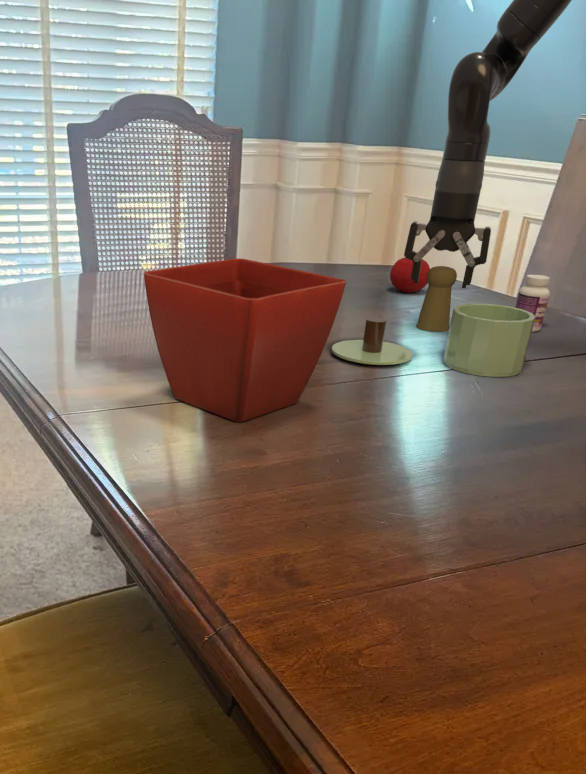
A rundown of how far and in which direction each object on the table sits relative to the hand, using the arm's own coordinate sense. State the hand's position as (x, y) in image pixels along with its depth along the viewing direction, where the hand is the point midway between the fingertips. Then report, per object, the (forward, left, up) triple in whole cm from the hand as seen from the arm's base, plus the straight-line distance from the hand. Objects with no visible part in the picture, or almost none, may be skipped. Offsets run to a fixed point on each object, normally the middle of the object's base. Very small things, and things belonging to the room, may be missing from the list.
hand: (439, 285), depth 142 cm
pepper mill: (0, 0, -8) cm, 8 cm away
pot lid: (+25, +7, -7) cm, 27 cm away
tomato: (-22, -24, -8) cm, 33 cm away
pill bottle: (-15, +10, -8) cm, 20 cm away
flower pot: (+58, +12, -8) cm, 60 cm away
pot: (+13, +20, -8) cm, 25 cm away
